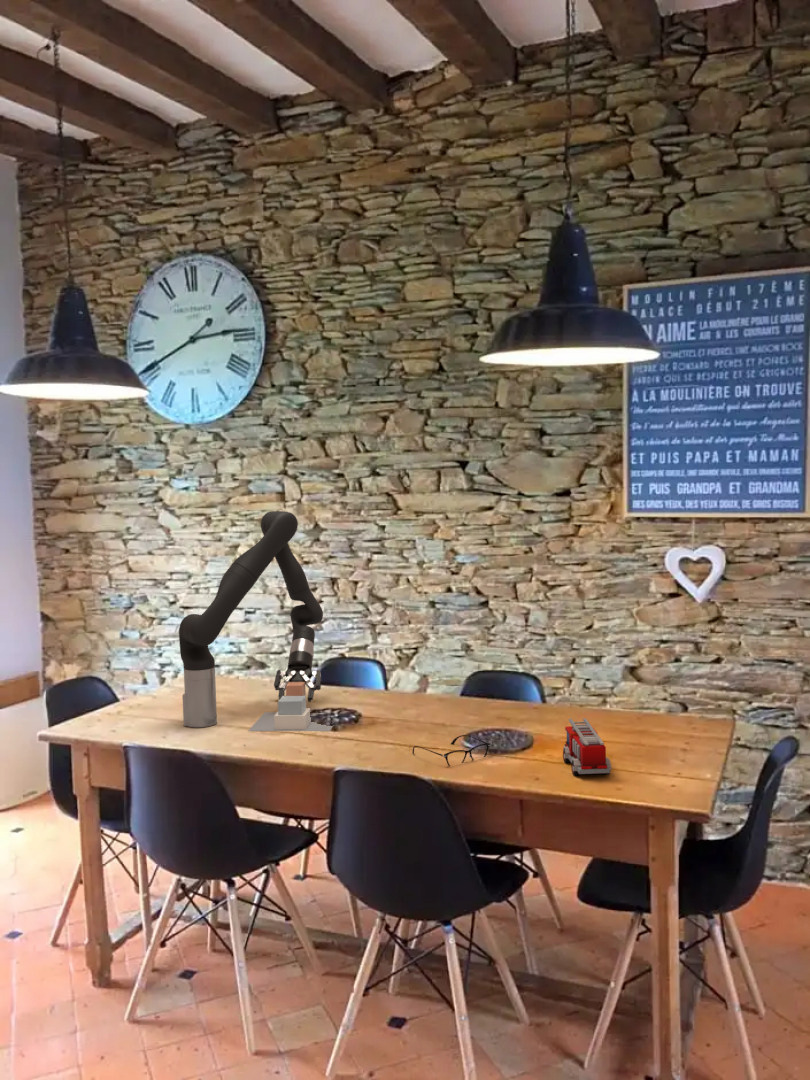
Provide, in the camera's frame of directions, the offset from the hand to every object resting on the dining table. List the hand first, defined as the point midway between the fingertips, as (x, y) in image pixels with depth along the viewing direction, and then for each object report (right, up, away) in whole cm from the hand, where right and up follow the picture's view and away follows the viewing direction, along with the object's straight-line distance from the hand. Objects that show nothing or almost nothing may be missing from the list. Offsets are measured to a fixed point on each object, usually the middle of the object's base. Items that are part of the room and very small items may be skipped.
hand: (295, 700), depth 284 cm
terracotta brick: (0, -5, +1) cm, 5 cm away
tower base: (0, -6, -10) cm, 11 cm away
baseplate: (+1, -6, -5) cm, 8 cm away
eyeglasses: (+45, -8, -40) cm, 61 cm away
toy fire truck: (+78, -8, -53) cm, 95 cm away
